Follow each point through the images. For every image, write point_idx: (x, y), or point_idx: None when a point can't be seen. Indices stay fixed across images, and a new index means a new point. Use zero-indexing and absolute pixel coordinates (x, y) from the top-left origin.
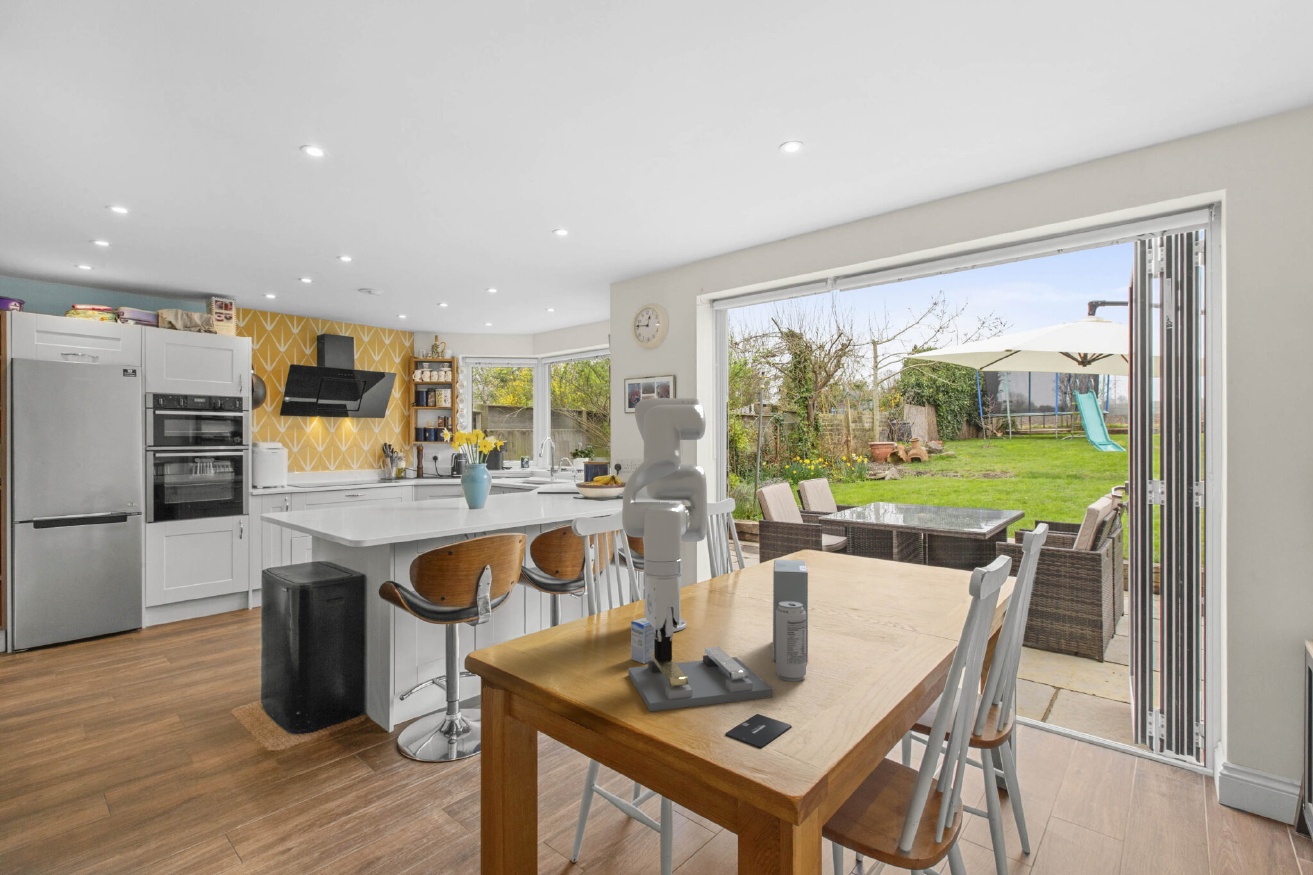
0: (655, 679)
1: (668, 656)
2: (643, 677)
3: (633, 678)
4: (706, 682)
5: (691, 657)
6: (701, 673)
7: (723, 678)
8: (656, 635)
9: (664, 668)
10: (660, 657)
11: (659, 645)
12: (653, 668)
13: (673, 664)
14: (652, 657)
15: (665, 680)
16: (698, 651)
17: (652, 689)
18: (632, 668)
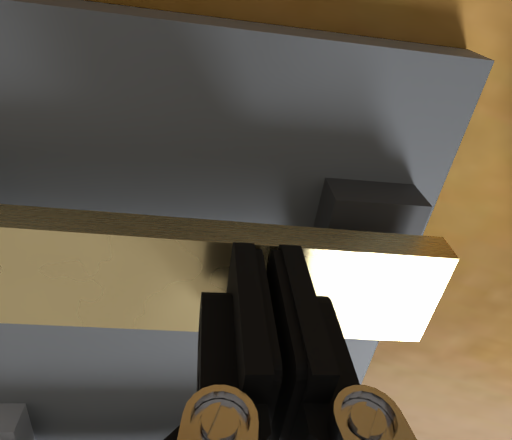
0: (211, 162)
1: (198, 333)
2: (276, 101)
3: (331, 37)
4: (93, 360)
5: (462, 378)
6: None
7: (122, 417)
8: (336, 430)
9: (84, 245)
10: (231, 282)
11: (238, 358)
12: (328, 199)
13: (147, 315)
14: (382, 239)
15: (176, 209)
16: (496, 409)
17: (42, 85)
18: (465, 84)
